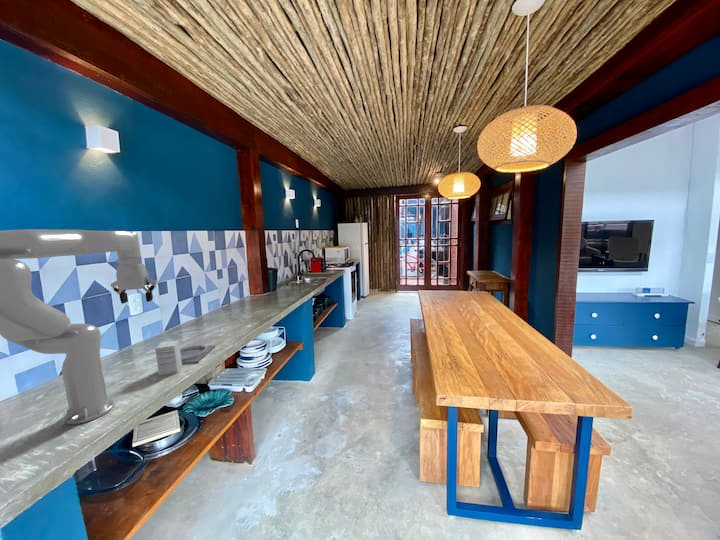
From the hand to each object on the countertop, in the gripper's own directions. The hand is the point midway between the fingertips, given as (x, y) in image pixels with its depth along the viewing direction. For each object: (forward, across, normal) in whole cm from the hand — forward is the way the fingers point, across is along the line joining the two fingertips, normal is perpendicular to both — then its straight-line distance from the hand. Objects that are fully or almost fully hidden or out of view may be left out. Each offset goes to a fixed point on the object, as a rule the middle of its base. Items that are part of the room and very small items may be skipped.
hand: (137, 301), depth 120 cm
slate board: (+34, +9, +18) cm, 39 cm away
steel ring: (+34, +9, +18) cm, 39 cm away
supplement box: (+33, +8, +2) cm, 34 cm away
